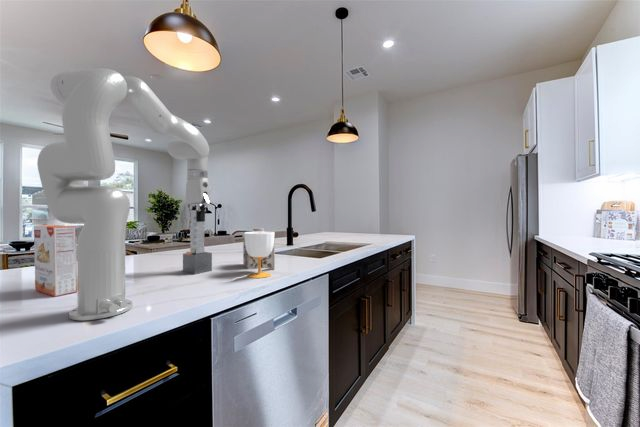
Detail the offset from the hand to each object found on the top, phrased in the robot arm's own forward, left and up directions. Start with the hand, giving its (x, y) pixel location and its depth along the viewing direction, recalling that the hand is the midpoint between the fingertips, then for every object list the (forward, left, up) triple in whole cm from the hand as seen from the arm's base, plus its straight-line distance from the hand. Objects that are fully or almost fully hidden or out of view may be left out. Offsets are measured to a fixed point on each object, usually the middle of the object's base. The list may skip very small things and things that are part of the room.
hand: (197, 220), depth 111 cm
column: (0, 0, -16) cm, 16 cm away
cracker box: (+17, +38, -22) cm, 47 cm away
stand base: (0, 0, -21) cm, 21 cm away
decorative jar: (-12, -22, -22) cm, 33 cm away
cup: (-22, -12, -22) cm, 33 cm away
